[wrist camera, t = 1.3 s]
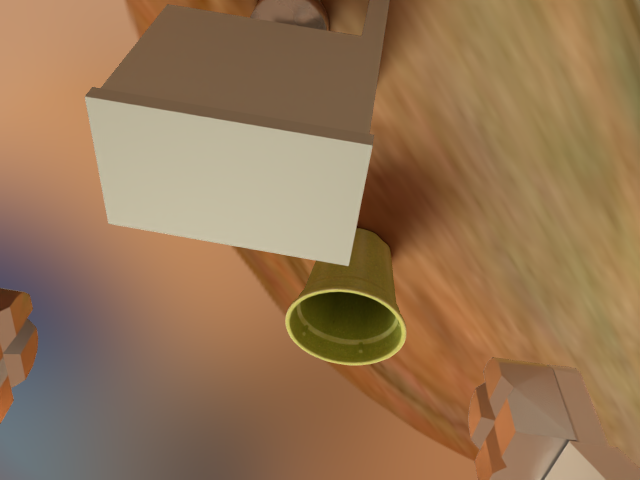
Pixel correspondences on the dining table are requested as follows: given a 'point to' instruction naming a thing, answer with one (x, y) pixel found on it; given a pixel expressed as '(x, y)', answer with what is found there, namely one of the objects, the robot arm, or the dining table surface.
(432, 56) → the dining table surface
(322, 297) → the plant pot
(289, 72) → the grey cube on pedestal
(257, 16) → the steel token
